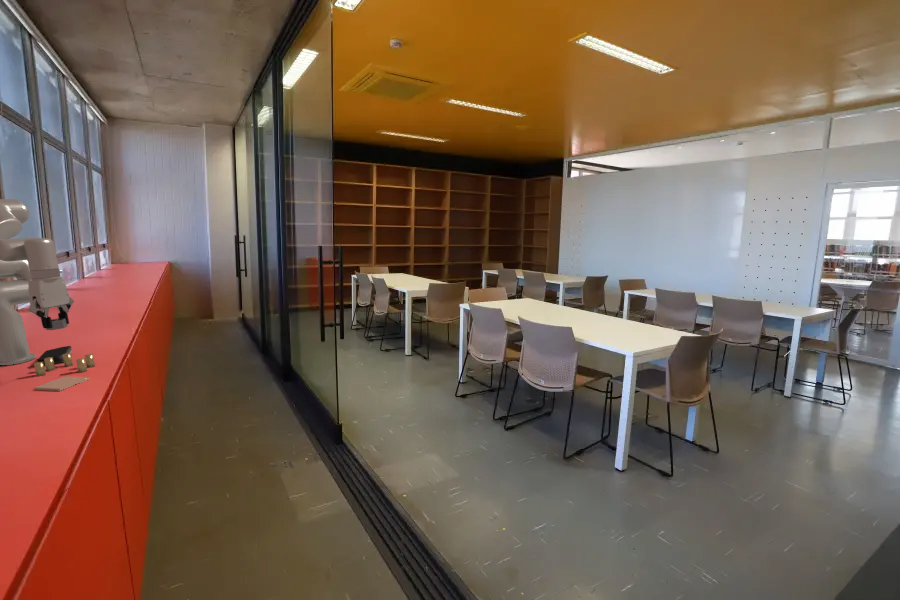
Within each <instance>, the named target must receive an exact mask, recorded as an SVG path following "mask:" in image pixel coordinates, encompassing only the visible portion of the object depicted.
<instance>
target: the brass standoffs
mask: <svg viewBox="0 0 900 600" xmlns="http://www.w3.org/2000/svg"><path fill="white" fill-rule="evenodd" d="M63 360H64V362H63V364H64V365H63V366H64V367H73V366H74V362H73V358H72V352H71V353H66V354H63ZM44 361H45V366H44V364H43V362H38V361H37V362H34V363H33V366H34V369H35V374H36V375H35V376H36V377H41V376H42V377H43V376H45V375H46V374H47V373H46V372H51V371H54V370H56V366H55V364H54V361H53V357H49V358H45V359H44ZM75 361H76V366H77V371H78V373H84V372H87V371H88V370H87V368H94V367H95V366H96V364H95V359H94V355H93V353H88V354H85V355H84V357H82V358H78V359H75ZM45 369H46V370H45Z"/></svg>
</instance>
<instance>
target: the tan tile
mask: <svg viewBox="0 0 900 600" xmlns="http://www.w3.org/2000/svg"><path fill="white" fill-rule="evenodd" d="M89 379H90V380H91V377H89V376H88V377H87V376H67V375H65V376H62V377H60V378H57V379H54V380H51V381H49V382H46V383H43V384H40V385H38V386H34V390H35V391H48V392H49V391H52V392H62V391H64V390H67V389H69V388H68V387H70V388H72V387H74V386H73V385H75V384H77V385H79V384H78V383H80V384H82V383H84V381H85V382H87V380H88V381H90V380H89ZM81 382H82V383H81ZM71 386H72V387H71ZM75 386H76V385H75ZM66 388H67V389H66ZM63 389H64V390H63ZM61 390H62V391H61Z"/></svg>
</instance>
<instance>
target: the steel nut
mask: <svg viewBox="0 0 900 600" xmlns="http://www.w3.org/2000/svg"><path fill="white" fill-rule="evenodd" d="M51 321H52V326H53V327H52V328H45V330H46V331H54V330H61V329H66V328H67V327H68V324H67V321H66V318H59V317H57V318H51Z"/></svg>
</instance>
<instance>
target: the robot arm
mask: <svg viewBox="0 0 900 600" xmlns="http://www.w3.org/2000/svg"><path fill="white" fill-rule="evenodd" d="M29 218H30V211H29V208H28V206H27V205H26V204H25V203H24V202H23V201H21V200H19V199H12V198H11V199H10V198H8V199H7V198H0V279H7V278H8V279H10V278H15V279H13V280H2V281H0V365H7V366H13V364H14V365H18V364H19V365H20V364H22V363H27V362H31V361H32V360H35V359H37V355H36V354H35V353H31V351H30V347H29V343H28V339H27V338H28V337H27V333H26V329H25V325H24V321H23V315H21V313H20V312H19V311H17V310H16V309H14V308H13V307H11V306H16V305H21V304H22V305H23V304H28V303H29V304H30V305H29V307H28V308H27V311H28V312H30V313H32V314H34V315H36V316H37V317H38V318H40V322H41V325H42V328H43V329H46V328H52V327H53V326H52V321H51V319H52V318H51V316H49V314H50V313H49V312H50V309H51V308H57V310H58V313H57V318H66V321H67V325H70V321H69V316H68V313H69V312H70V309H71V307H72V306H73V304H74V303H75V300H74V299H72V298H71V297H70V294H69V291H68V288H67V285H66V282H65V280H64V277H63V276H61V274H62V273H63V270H62V269H60V267H59V262H58V258H57V253H56V248H55V244H54V243H55V242H54V241H53V240H52V239H51V238H49V237H47V238H45V237H24V238H23V237H21V238H18V237H17V238H14V237H16V236H18V235H19V234H21V232H22V230H23V224H24V223H26V222H28V220H29Z"/></svg>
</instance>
